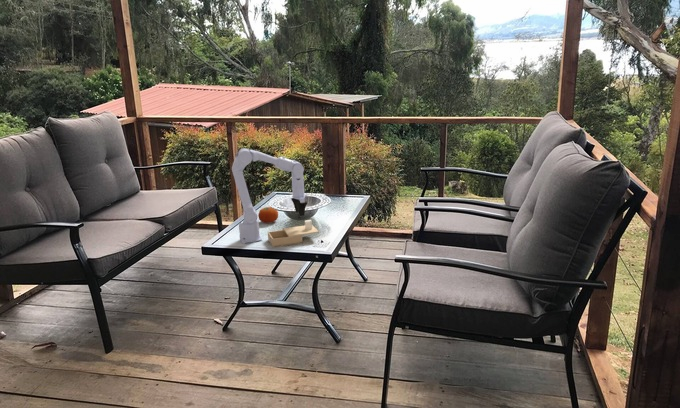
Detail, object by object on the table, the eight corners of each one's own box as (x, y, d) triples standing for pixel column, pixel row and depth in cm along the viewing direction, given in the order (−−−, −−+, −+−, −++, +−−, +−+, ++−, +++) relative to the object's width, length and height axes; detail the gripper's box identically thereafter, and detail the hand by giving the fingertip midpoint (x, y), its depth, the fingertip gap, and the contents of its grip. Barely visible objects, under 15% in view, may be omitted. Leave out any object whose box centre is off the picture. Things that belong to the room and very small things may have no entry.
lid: (288, 236, 236) (288, 227, 235) (283, 229, 247) (282, 220, 246) (318, 232, 240) (318, 223, 239) (311, 225, 251) (311, 216, 250)
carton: (273, 247, 235) (272, 239, 234) (268, 239, 246) (267, 232, 245) (302, 243, 239) (301, 235, 238) (296, 235, 250) (295, 228, 249)
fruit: (270, 218, 282) (269, 204, 280) (282, 221, 275) (281, 207, 273) (255, 222, 275) (253, 208, 273) (266, 226, 268) (265, 211, 266)
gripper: (309, 188, 241) (311, 216, 244) (302, 182, 254) (304, 209, 258) (295, 190, 239) (297, 218, 242) (288, 184, 252) (290, 210, 256)
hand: (299, 213), depth 250 cm, fingers open, 7 cm apart
